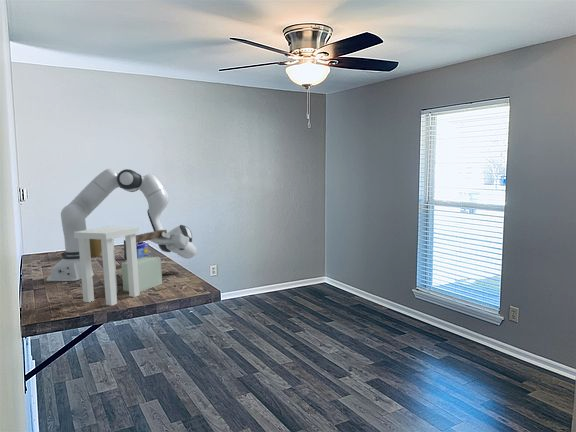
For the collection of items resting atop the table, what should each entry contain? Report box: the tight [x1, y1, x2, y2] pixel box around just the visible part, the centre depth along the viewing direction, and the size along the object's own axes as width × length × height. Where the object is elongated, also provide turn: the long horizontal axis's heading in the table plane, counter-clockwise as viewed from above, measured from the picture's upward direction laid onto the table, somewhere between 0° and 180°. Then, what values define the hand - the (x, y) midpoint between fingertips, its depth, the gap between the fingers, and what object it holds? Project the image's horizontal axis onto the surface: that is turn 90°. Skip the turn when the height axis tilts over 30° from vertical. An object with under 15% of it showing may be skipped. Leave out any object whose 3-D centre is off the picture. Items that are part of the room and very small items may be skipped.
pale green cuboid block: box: [120, 256, 163, 293], centre depth 206 cm, size 16×9×13 cm, turn 156°
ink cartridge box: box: [136, 241, 150, 259], centre depth 259 cm, size 10×6×14 cm, turn 158°
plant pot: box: [89, 239, 102, 258], centre depth 290 cm, size 15×15×16 cm
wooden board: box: [135, 229, 168, 244], centre depth 209 cm, size 24×3×3 cm, turn 156°
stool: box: [74, 226, 141, 307], centre depth 188 cm, size 18×18×30 cm
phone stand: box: [123, 240, 127, 261], centre depth 278 cm, size 9×6×12 cm, turn 29°
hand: (157, 233), depth 216 cm, fingers closed on wooden board, 3 cm apart
